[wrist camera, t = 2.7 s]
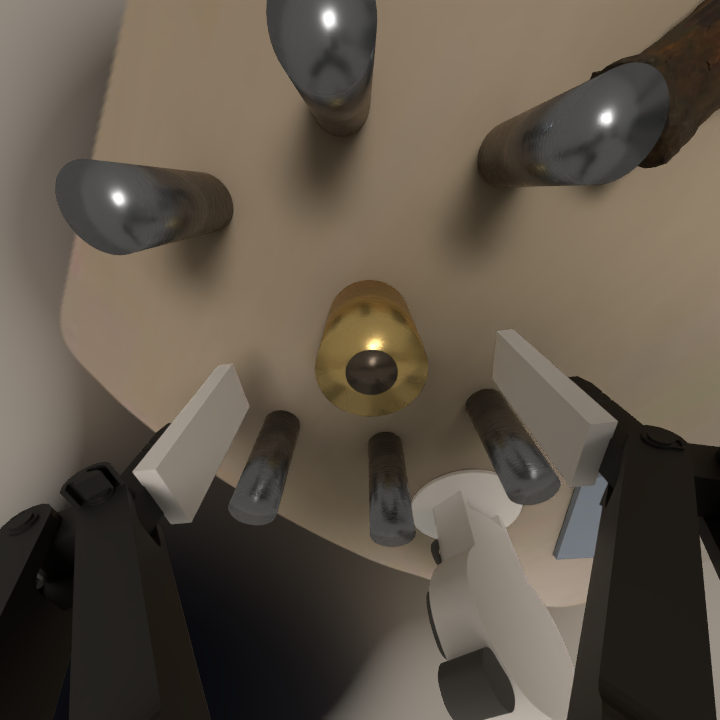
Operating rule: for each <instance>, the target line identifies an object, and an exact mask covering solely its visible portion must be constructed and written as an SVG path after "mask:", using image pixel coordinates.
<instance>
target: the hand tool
mask: <svg viewBox="0 0 720 720" xmlns="http://www.w3.org/2000/svg"><path fill="white" fill-rule="evenodd" d="M635 62H638V63H645V64H649V65H651V66H653V67H655V68H656V69H657V70H658V71H659V72H660V73H661V74H662V76H663V77H664V79H665V81H666V83H667V87H668V92H669V109H668V115H667V119H666V122H665V125H664V128H663V130H662V133H661V135H660V137H659V139H658V140H657V142H656V144H655V145H654V147H653V148H652V150H651V151H650V153H649V154H648V155H647V156H646V158H645V159H644V160H643V161H642V162H641V163H640V164H639V165H638V166H639V167H642V168H652V167H657V166H659V165H663V164H666V163H667V162H668V161H669V160H670V159H671V158H672V157H673V156H675V155H676V154H677V153H678V152H679V150H680V149H681V147H683V146H684V145H685V144H686V143H687V142H688V141H689V140H690V139H691V138H692V137H693V136H694V134H695V133H696V131H697V129H698V127H699V126H700V125H701V124H702V123H703V122H705V121H706V120H707V119H708V118H709V117H710V116H711V115H712V114H713V113H714V112H715V111H716V110H718V109H719V108H720V0H705V1H703V2H702V3H701V4H700V5H699V6H698V7H697V8H696V9H695V10H694V11H693V12H692V13H691V14H690V15H689V16H688V17H687V18H686V19H684V20H683V21H682V22H680V23H679V24H678V25H677V26H675V27H674V28H673V29H671V30H670V31H669V32H668V33H667V34H665V35H664V36H663V37H662V38H661V39H659V40H658V41H657V42H655V43H654V44H653V45H651V46H650V47H649V48H647V49H646V50H645V51H643V52H642V53H641V54H639V55H635V56H630V57H626V58H623V59H620V60H618V61H616V62H614V63H612V64H610V65H609V66H607V67H606V68H604V69H603V70H602V71H598V72H593V73H592V76H591V78H590V80H591V79H593V78H595V77H597V76H599V75H601V74H603V73H605V72H607V71H609V70H611V69H613V68H615V67H618V66H620V65H623V64H627V63H635Z"/></svg>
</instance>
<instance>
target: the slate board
mask: <svg viewBox="0 0 720 720" xmlns="http://www.w3.org/2000/svg"><path fill="white" fill-rule="evenodd" d="M607 484H608V482H607V481H606V480H605V479H604V477H603V476H602V475H601V474H600V473H599V474H598V477H597V480H596V482H595V485H593V486H582V487H575V490H574V493H573V496H572V499H571V502H570V505H569V508H568V511H567V514H566V517H565V520H564V523H563V527H562V530H561V533H560V536H559V539H558V542H557V545H556V548H555V551H554V556H555V558H556V560H559V559H575V558H591V557H594V553H595V547H596V541H597V535H598V529H599V524H600V518H601V512H602V506H601V505H599V504H600V501H601V499H602V496H603V494H604V491H605V489H606V486H607Z"/></svg>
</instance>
